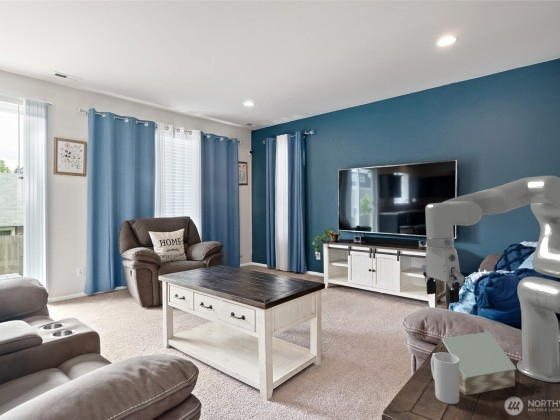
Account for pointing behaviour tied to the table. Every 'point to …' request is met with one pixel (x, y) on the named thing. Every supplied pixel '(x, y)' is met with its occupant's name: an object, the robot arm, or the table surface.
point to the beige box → (486, 382)
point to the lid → (478, 354)
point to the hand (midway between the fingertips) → (442, 297)
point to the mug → (446, 377)
